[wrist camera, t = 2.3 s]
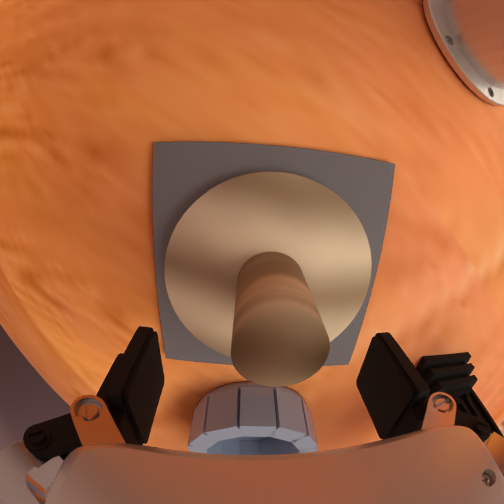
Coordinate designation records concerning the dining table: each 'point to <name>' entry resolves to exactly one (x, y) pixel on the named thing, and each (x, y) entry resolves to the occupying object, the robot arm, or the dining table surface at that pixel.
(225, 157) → the rubber mat
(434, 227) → the dining table surface
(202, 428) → the bowl
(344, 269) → the lid
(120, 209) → the dining table surface
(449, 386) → the chess piece
